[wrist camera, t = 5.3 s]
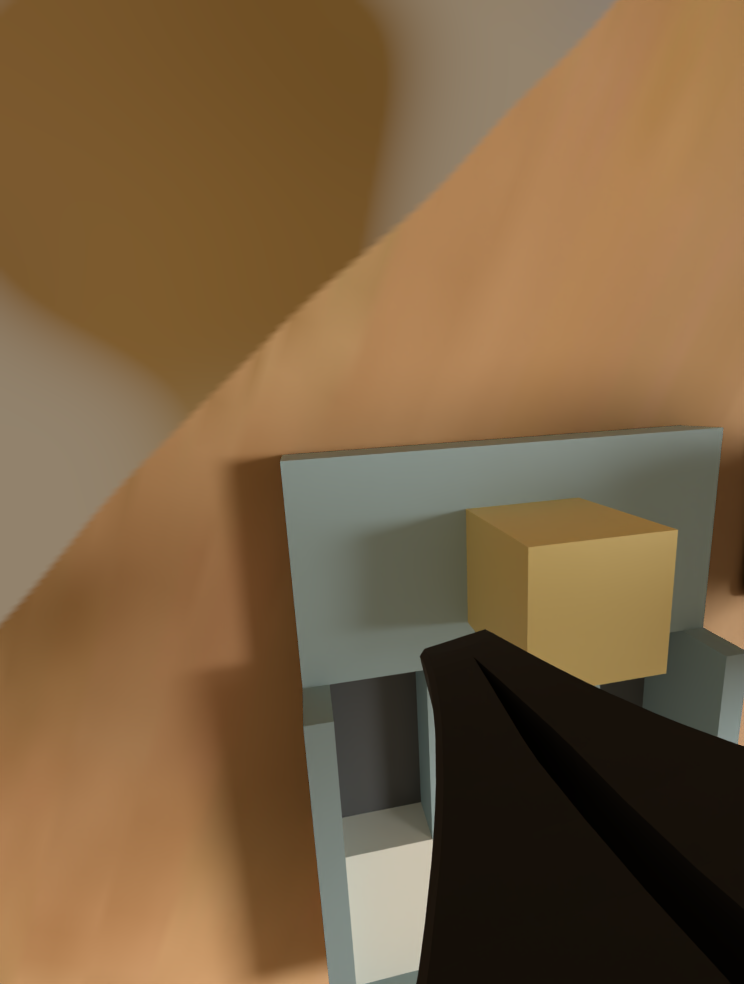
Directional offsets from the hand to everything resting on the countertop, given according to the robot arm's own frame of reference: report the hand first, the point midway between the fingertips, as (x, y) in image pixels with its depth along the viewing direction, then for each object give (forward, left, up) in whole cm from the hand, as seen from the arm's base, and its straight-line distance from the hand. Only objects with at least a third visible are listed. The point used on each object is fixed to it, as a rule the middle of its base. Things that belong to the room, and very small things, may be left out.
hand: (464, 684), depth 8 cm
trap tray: (-5, +9, -10) cm, 14 cm away
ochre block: (-5, +1, -8) cm, 9 cm away
